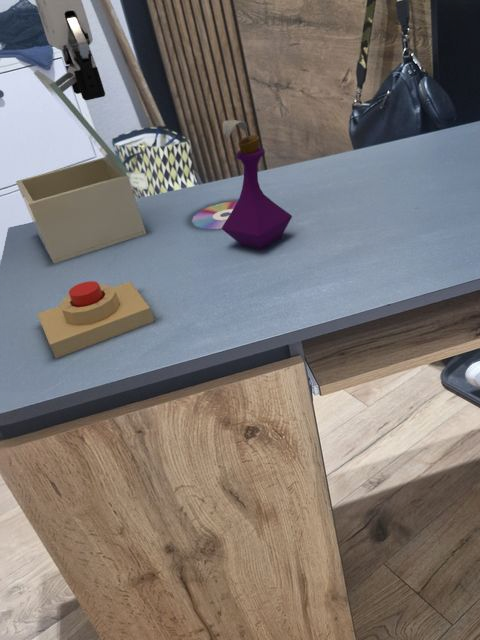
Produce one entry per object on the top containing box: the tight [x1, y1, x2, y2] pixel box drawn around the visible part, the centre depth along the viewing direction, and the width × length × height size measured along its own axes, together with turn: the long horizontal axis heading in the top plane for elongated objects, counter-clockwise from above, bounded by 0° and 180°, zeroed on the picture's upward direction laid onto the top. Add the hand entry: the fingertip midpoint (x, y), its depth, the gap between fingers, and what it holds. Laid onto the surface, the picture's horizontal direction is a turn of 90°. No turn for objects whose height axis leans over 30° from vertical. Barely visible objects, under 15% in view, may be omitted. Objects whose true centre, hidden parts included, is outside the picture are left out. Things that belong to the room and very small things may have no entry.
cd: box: [191, 200, 238, 230], centre depth 105 cm, size 11×11×1 cm
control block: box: [37, 281, 155, 359], centre depth 79 cm, size 12×9×4 cm
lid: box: [33, 64, 129, 175], centre depth 97 cm, size 15×14×6 cm
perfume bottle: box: [221, 119, 293, 250], centre depth 90 cm, size 8×8×18 cm
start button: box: [68, 280, 104, 307], centre depth 78 cm, size 4×4×2 cm
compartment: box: [15, 156, 147, 264], centre depth 102 cm, size 15×14×10 cm
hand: (89, 93), depth 96 cm, fingers closed on lid, 5 cm apart
